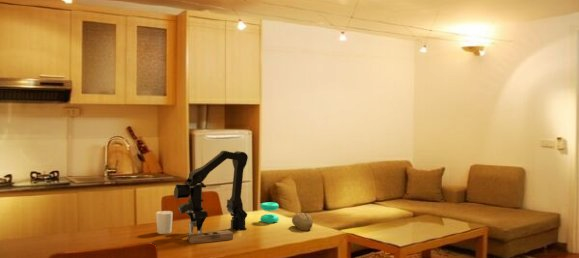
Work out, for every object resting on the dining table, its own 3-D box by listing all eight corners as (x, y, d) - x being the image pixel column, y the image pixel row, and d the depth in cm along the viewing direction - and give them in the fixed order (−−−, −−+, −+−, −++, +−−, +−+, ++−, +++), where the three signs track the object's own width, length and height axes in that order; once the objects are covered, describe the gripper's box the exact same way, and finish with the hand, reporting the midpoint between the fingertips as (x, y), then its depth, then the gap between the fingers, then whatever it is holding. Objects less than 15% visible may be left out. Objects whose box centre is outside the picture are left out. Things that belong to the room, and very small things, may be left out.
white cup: (168, 234, 246) (168, 214, 246) (153, 233, 248) (153, 213, 247) (175, 231, 254) (175, 211, 253) (160, 230, 255) (160, 210, 255)
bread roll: (304, 224, 272) (304, 209, 272) (316, 230, 258) (317, 215, 258) (288, 225, 268) (288, 210, 268) (299, 232, 255) (299, 216, 254)
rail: (187, 240, 235) (187, 234, 235) (228, 236, 244) (228, 230, 244) (191, 243, 229) (191, 237, 229) (233, 239, 238) (233, 232, 238)
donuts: (279, 205, 274) (261, 205, 273) (279, 223, 274) (260, 223, 273) (277, 201, 284) (260, 201, 283) (277, 219, 284) (259, 219, 283)
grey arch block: (189, 234, 247) (189, 222, 247) (201, 233, 250) (201, 221, 250) (190, 235, 245) (190, 223, 245) (202, 234, 248) (202, 221, 248)
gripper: (174, 195, 252) (174, 226, 252) (184, 201, 235) (184, 234, 236) (196, 193, 257) (196, 224, 257) (208, 199, 240) (207, 232, 241)
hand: (195, 228), depth 248 cm, fingers open, 8 cm apart
